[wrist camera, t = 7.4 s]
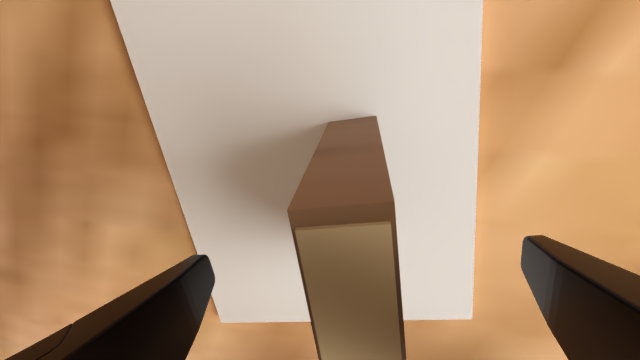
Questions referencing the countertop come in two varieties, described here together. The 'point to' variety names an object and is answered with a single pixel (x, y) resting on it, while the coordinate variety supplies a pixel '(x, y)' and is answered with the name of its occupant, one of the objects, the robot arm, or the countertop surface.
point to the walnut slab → (350, 245)
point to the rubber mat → (313, 132)
